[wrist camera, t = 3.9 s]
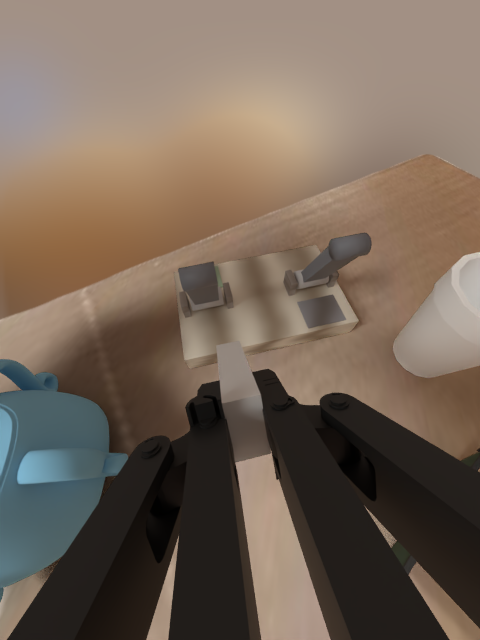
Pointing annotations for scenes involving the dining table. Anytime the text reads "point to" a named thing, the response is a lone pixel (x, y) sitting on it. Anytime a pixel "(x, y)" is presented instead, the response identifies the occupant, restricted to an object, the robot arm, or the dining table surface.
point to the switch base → (263, 308)
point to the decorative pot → (47, 470)
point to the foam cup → (445, 325)
